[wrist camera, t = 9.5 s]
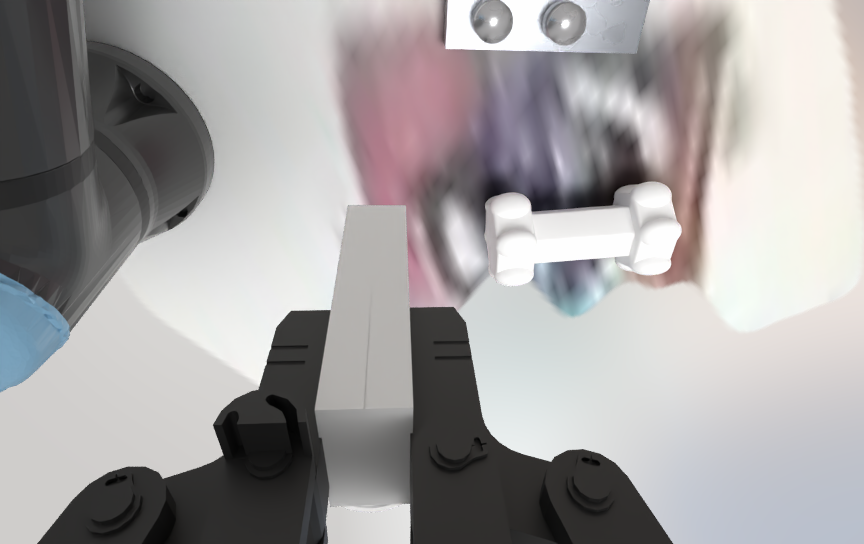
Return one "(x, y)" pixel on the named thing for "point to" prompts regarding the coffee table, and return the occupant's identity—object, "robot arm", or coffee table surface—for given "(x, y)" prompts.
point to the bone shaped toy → (582, 233)
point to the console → (545, 25)
